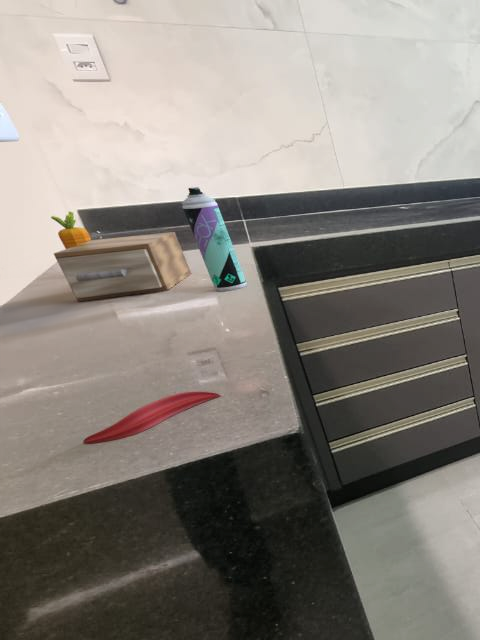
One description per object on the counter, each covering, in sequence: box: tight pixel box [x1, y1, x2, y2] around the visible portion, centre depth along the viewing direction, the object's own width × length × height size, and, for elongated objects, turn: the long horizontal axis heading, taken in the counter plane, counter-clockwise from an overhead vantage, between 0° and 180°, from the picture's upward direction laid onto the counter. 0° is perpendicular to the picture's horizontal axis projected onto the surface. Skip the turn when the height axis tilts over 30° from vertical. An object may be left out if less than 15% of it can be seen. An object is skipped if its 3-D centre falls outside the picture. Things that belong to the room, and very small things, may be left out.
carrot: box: [50, 211, 92, 249], centre depth 125 cm, size 5×5×15 cm
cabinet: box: [53, 231, 192, 303], centre depth 113 cm, size 16×15×10 cm
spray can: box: [181, 186, 248, 292], centre depth 106 cm, size 6×6×20 cm
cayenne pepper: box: [82, 391, 222, 444], centre depth 58 cm, size 12×5×2 cm, turn 137°
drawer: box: [56, 249, 162, 299], centre depth 110 cm, size 19×14×8 cm
